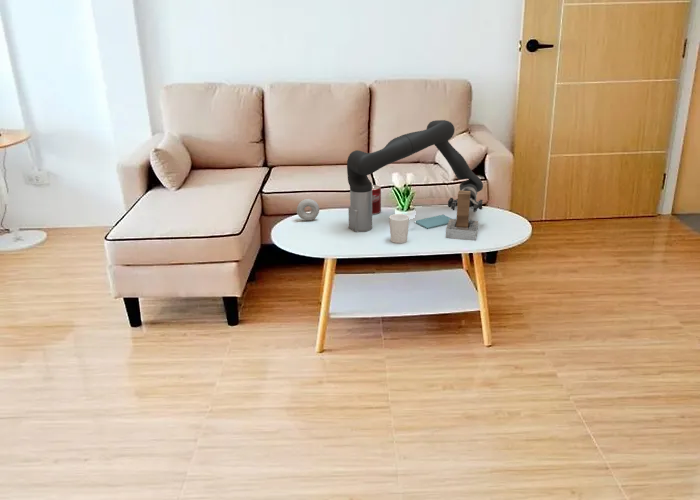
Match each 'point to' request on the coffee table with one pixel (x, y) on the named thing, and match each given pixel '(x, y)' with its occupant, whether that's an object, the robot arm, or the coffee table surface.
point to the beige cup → (399, 227)
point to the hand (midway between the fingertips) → (463, 208)
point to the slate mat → (433, 221)
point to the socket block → (462, 230)
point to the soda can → (376, 199)
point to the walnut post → (463, 209)
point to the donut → (310, 203)
